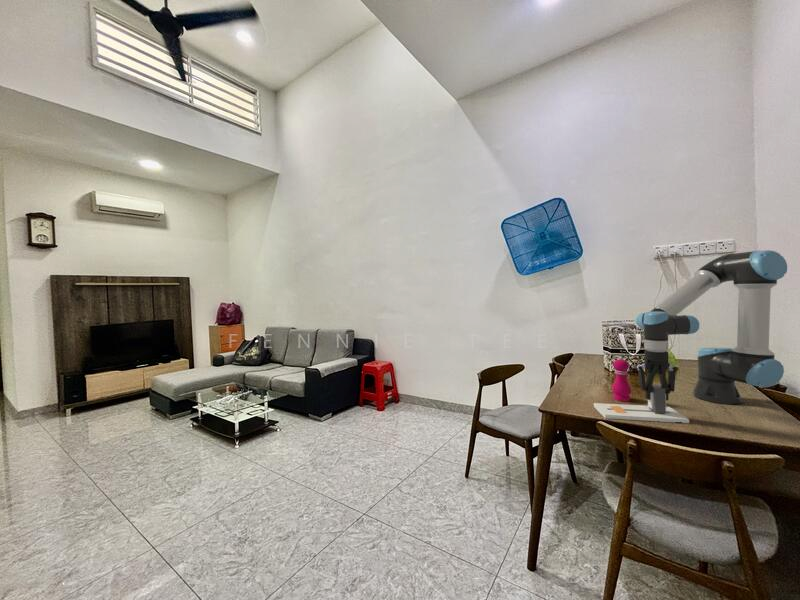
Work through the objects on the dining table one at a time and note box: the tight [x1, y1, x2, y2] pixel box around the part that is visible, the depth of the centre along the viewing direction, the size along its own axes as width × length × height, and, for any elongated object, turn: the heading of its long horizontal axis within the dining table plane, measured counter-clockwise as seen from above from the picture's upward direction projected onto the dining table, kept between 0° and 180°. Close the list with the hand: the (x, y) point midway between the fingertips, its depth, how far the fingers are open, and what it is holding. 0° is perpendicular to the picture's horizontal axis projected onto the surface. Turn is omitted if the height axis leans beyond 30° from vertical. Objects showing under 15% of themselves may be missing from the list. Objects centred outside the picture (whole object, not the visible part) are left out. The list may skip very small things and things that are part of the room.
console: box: [593, 402, 690, 424], centre depth 128 cm, size 28×13×2 cm, turn 75°
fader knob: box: [649, 384, 667, 414], centre depth 126 cm, size 4×5×10 cm
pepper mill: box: [611, 356, 632, 402], centre depth 145 cm, size 7×7×20 cm
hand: (656, 407), depth 126 cm, fingers closed on fader knob, 3 cm apart
